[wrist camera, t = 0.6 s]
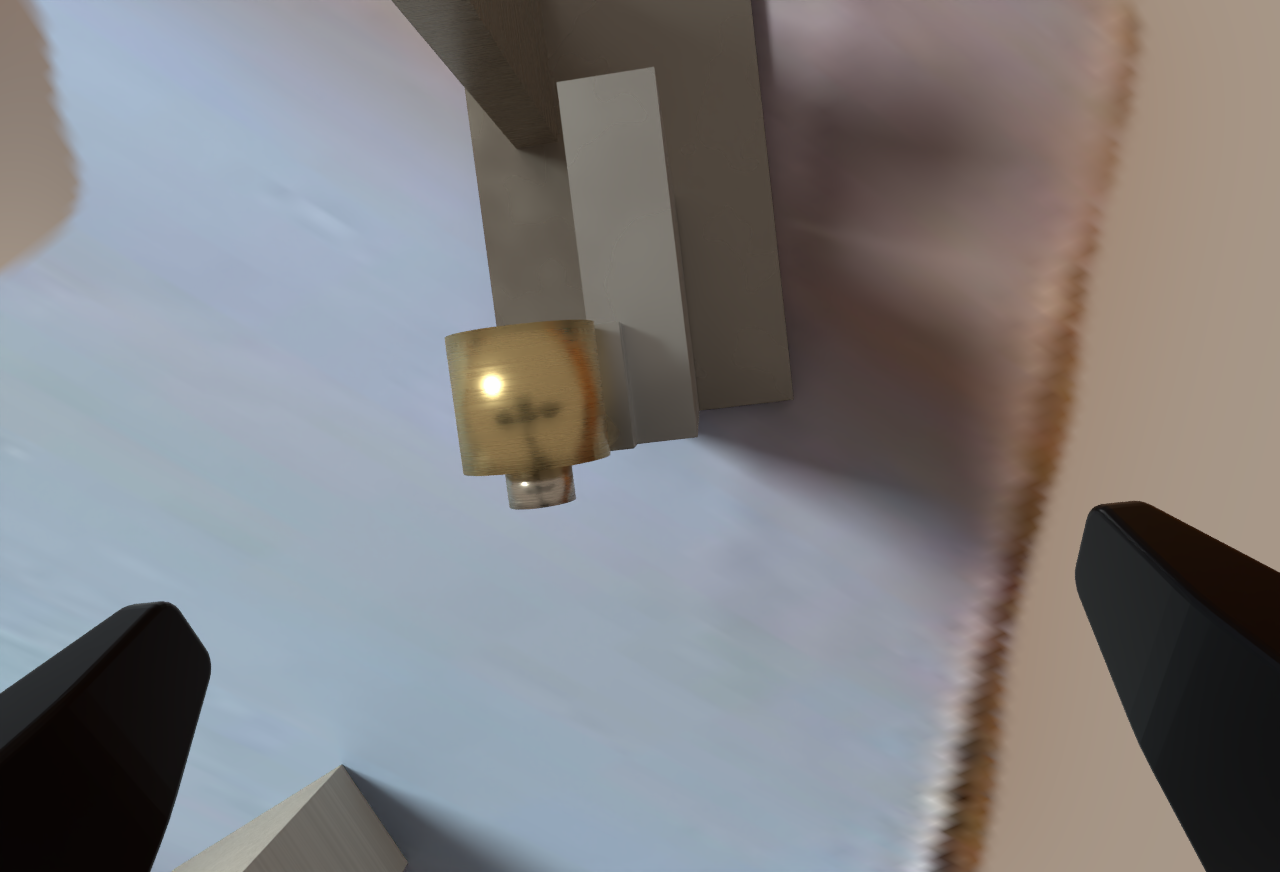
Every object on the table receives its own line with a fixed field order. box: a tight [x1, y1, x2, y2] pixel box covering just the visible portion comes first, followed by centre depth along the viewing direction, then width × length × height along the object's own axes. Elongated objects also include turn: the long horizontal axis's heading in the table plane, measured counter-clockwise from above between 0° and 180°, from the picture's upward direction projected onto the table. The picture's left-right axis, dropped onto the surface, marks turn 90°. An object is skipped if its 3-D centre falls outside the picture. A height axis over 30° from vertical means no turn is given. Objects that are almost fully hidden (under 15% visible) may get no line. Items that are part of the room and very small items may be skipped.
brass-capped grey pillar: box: [445, 67, 700, 509], centre depth 16 cm, size 7×4×11 cm, turn 7°
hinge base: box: [392, 0, 794, 411], centre depth 16 cm, size 14×8×12 cm, turn 7°
